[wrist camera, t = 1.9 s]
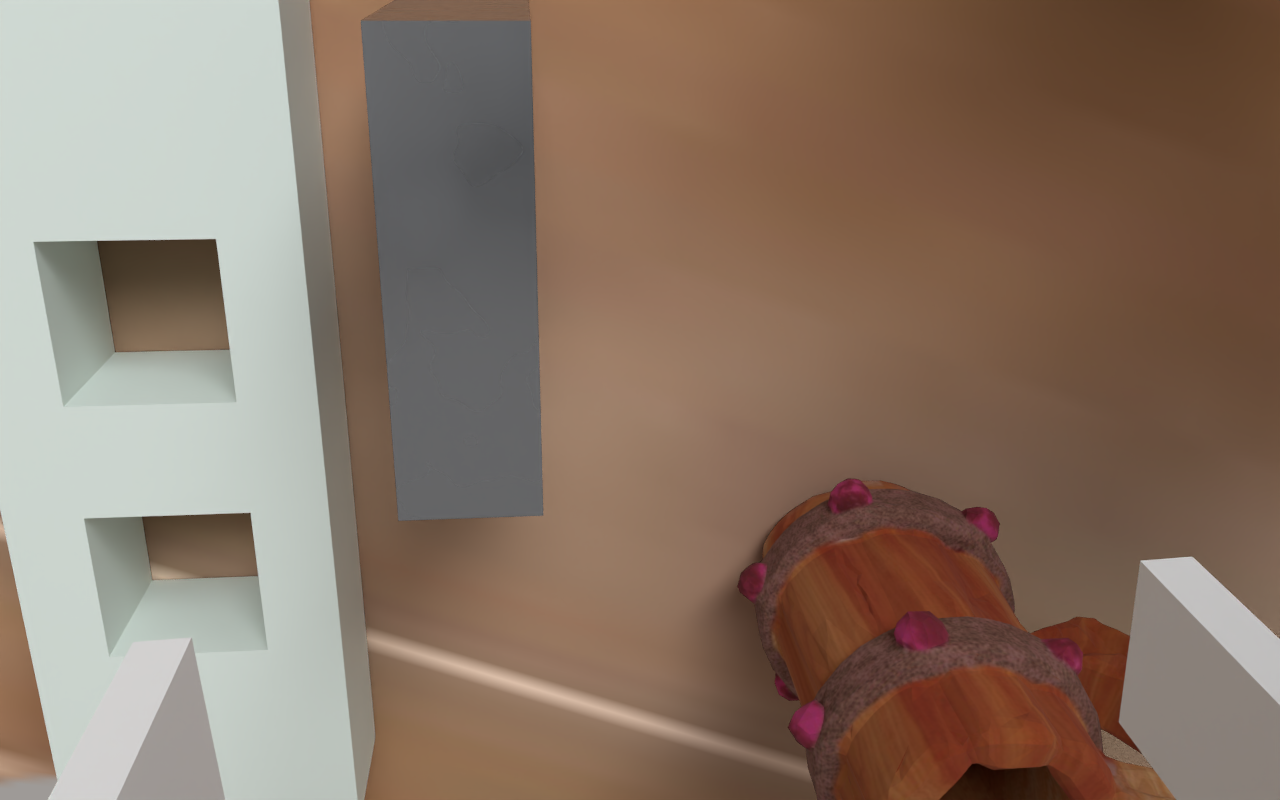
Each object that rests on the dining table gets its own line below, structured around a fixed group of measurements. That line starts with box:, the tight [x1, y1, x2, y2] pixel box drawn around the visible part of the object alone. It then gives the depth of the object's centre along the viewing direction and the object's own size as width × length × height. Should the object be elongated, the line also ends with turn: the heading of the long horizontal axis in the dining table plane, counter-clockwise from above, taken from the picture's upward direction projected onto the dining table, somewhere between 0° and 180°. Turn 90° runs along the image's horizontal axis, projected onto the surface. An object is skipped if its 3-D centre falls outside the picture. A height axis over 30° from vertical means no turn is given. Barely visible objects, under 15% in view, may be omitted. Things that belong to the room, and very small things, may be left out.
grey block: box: [361, 0, 543, 521], centre depth 30 cm, size 11×3×12 cm, turn 0°
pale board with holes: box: [0, 0, 375, 800], centre depth 36 cm, size 26×9×4 cm, turn 0°
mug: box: [738, 479, 1176, 800], centre depth 35 cm, size 15×8×15 cm, turn 77°
